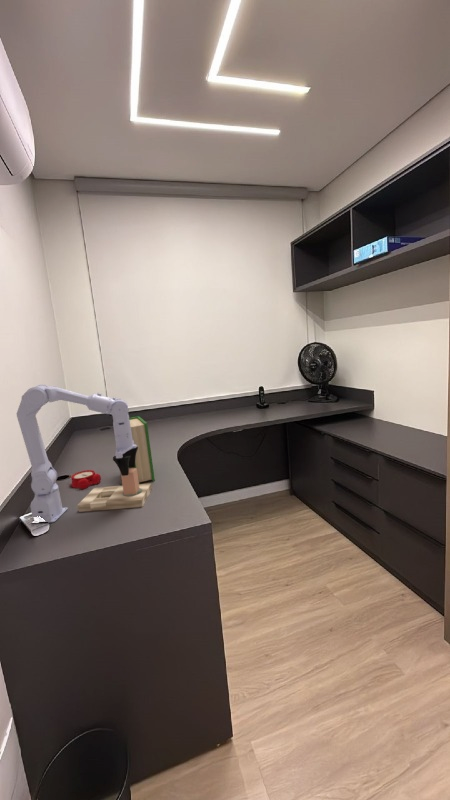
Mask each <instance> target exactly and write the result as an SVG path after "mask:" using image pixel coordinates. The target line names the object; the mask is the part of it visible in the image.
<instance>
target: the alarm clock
mask: <svg viewBox="0 0 450 800" xmlns="http://www.w3.org/2000/svg"><path fill="white" fill-rule="evenodd" d="M68 478H71V483H70V486H71V488H74V489H80V490H85V489H87V488H88V487H89V486H92V485H98V484H100V483H101V480H102V476H101V475H100V473H96V472H95V470H91V469H89V470H87V469H86V470H81V471H78V472H76V473H73V475H72V476H69V477H68Z"/></svg>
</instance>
